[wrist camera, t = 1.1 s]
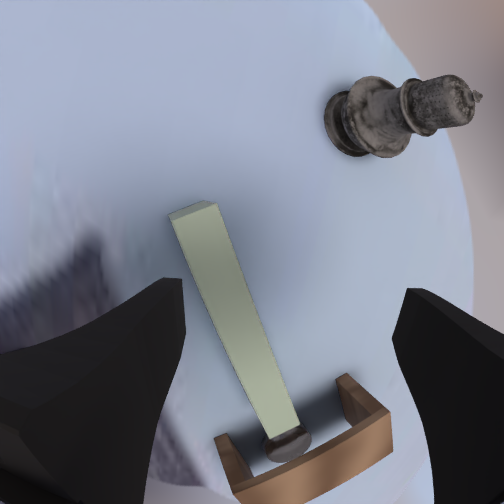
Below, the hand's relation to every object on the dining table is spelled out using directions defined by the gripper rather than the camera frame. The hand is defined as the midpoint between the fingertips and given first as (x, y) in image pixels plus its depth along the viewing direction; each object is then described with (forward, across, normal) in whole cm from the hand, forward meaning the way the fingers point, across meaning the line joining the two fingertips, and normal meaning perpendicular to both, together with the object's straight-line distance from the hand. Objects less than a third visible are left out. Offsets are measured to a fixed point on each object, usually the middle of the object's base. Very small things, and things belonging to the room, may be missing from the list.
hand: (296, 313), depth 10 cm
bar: (+10, +3, +7) cm, 13 cm away
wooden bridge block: (+10, -3, +19) cm, 22 cm away
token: (+9, -2, +21) cm, 23 cm away
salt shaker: (+16, -6, -6) cm, 18 cm away
